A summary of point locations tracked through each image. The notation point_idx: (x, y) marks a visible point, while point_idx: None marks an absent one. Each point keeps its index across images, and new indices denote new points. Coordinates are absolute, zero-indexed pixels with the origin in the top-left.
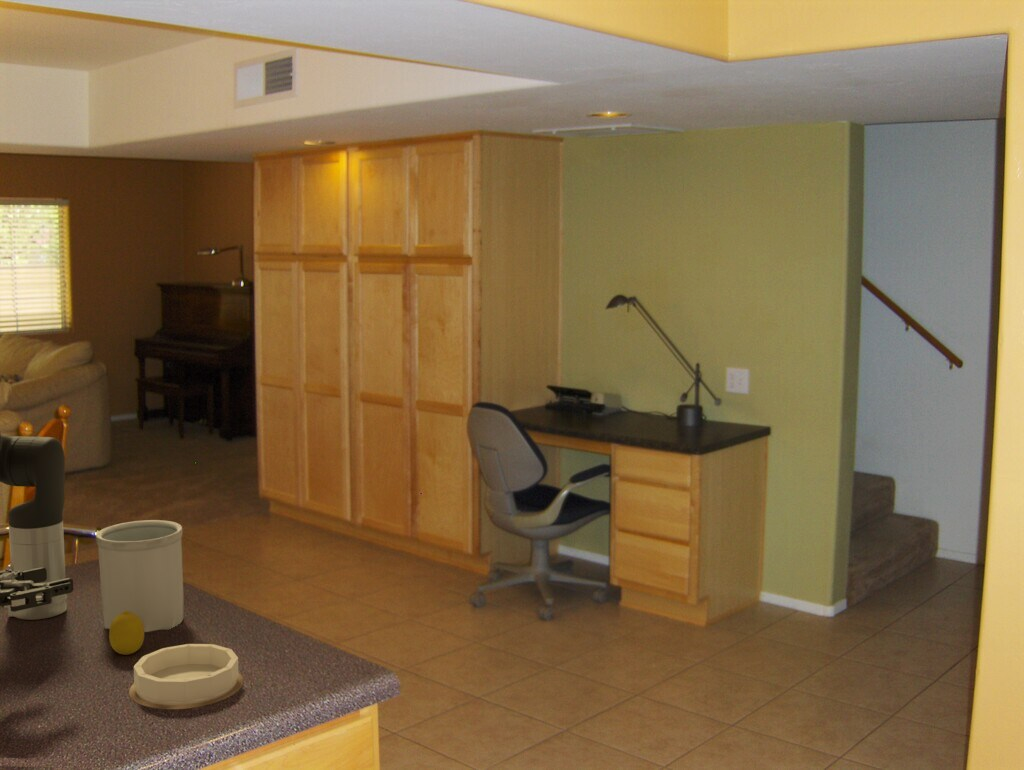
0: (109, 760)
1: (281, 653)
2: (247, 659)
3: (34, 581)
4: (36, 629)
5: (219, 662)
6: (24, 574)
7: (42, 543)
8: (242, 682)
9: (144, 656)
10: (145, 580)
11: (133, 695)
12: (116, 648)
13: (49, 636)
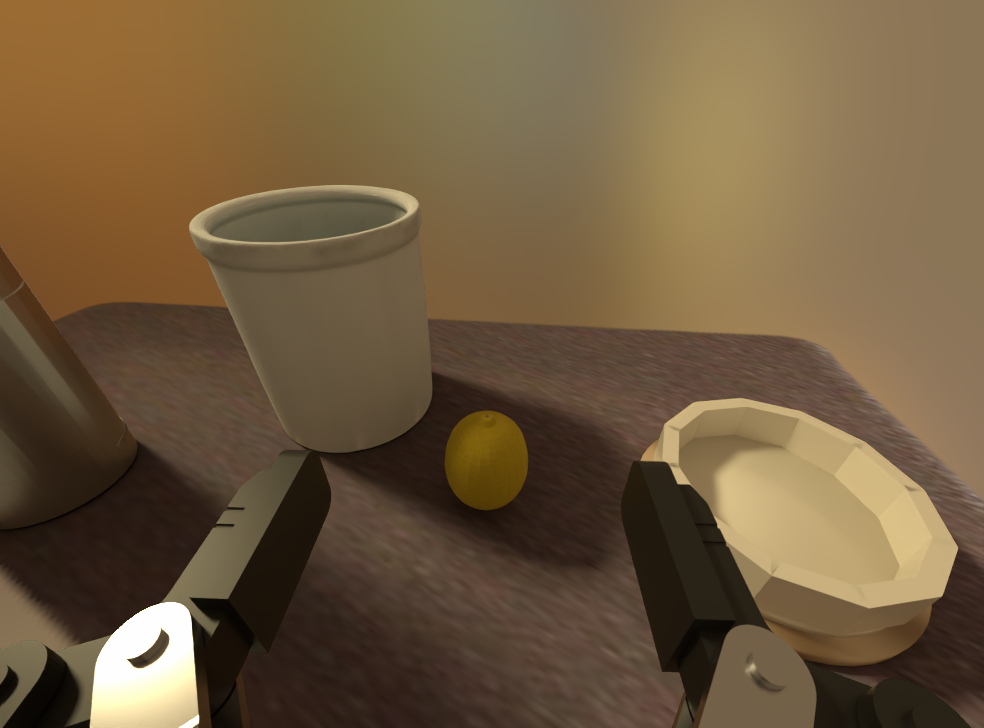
0: None
1: (655, 362)
2: (651, 393)
3: (299, 562)
4: (120, 537)
5: (719, 429)
6: (239, 600)
7: None
8: None
9: None
10: (407, 323)
11: (787, 636)
12: (496, 507)
13: (195, 542)
